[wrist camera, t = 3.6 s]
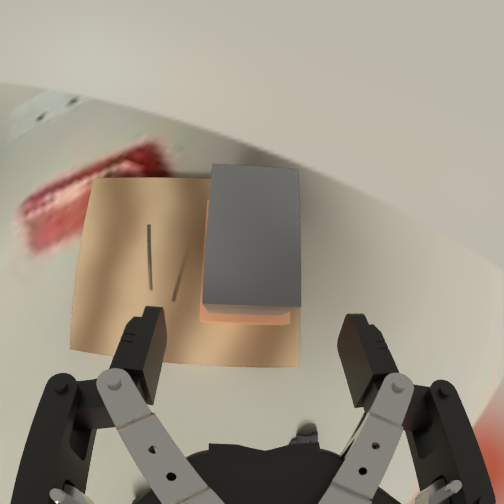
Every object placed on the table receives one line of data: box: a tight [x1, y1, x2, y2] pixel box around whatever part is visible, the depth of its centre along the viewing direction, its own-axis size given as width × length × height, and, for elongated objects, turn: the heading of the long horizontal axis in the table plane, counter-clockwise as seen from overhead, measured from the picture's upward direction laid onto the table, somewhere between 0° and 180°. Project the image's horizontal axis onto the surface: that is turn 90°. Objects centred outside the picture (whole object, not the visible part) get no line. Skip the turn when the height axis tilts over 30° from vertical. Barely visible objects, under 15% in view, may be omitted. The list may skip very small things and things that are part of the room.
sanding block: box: [199, 164, 301, 325], centre depth 18 cm, size 6×8×8 cm
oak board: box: [70, 178, 300, 367], centre depth 23 cm, size 17×14×2 cm
